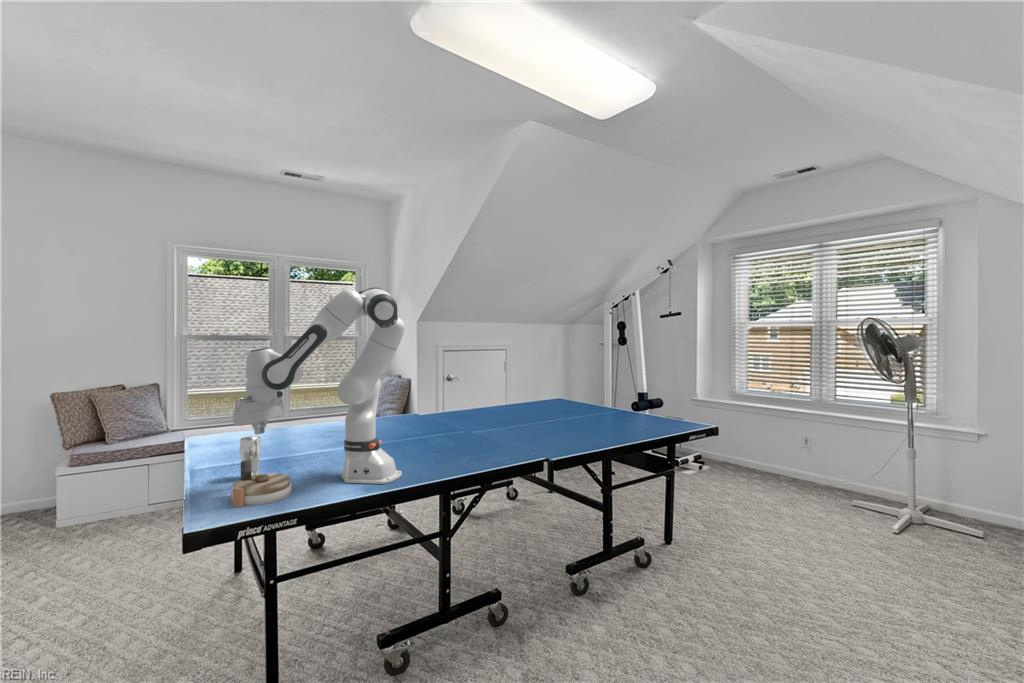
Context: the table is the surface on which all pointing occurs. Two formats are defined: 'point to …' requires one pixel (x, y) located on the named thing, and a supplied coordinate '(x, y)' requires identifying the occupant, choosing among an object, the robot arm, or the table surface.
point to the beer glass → (251, 452)
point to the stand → (257, 497)
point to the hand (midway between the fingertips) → (259, 433)
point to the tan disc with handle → (260, 481)
